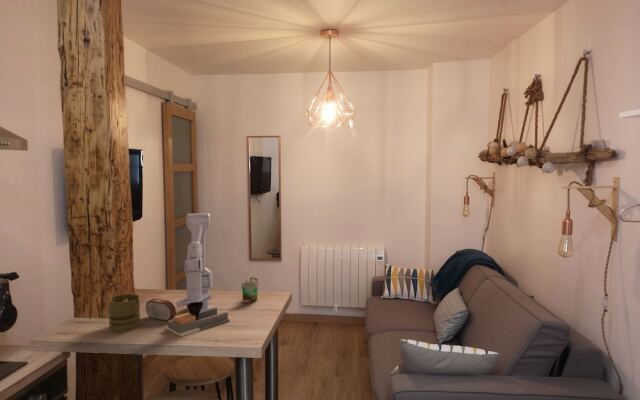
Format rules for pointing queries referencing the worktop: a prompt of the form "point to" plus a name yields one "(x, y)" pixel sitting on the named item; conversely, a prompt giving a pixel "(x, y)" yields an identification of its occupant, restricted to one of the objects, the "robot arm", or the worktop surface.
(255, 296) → the food container
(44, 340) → the worktop surface
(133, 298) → the piston
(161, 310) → the tin
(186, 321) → the block
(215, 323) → the chute
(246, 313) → the worktop surface
